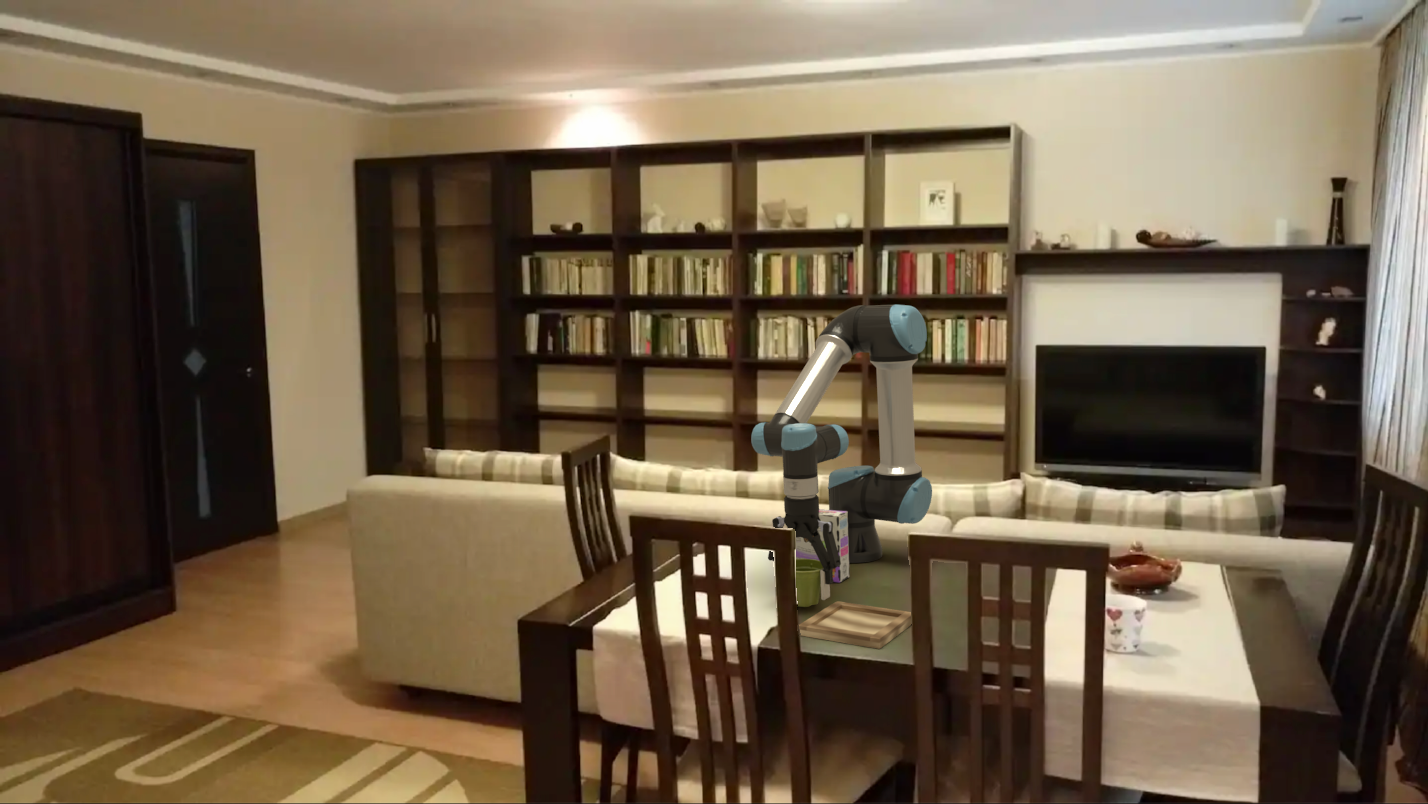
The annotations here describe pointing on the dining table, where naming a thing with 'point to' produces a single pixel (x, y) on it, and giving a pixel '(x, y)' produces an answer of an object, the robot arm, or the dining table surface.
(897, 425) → the robot arm
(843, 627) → the wooden tray
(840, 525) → the candy box
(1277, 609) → the dining table surface
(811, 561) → the plant pot
